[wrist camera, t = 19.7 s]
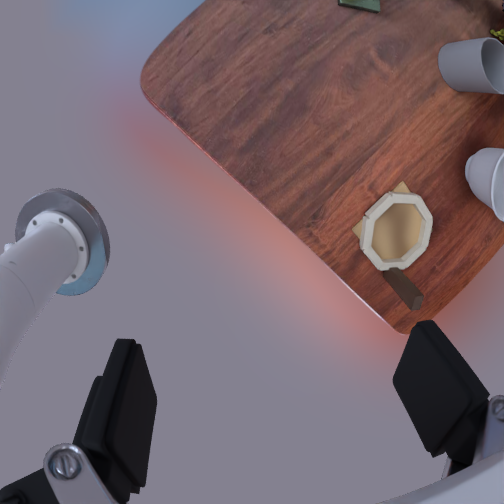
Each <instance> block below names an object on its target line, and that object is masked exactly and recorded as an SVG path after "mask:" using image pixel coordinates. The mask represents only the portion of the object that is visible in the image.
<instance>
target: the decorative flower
mask: <svg viewBox="0 0 504 504" xmlns="http://www.w3.org/2000/svg"><path fill="white" fill-rule="evenodd" d="M503 1H504V0H503ZM502 6H503V8H504V3H503V5H502ZM502 11H503V12H504V9H503V10H502ZM490 33H491V34H492V35H494V36H495V37H498V36H499V35H501V36H499V39H500V40H501V41H503V40H504V37H503V36H504V28H503V29H501V30H500V31H498V32H495V31H494V30H490Z"/></svg>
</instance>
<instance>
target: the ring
mask: <svg viewBox="0 0 504 504" xmlns="http://www.w3.org/2000/svg"><path fill="white" fill-rule="evenodd" d="M393 203H404V204H413V205H414V207H415V209H416V210H417V212H418V213H419V215H420V217H421V218H422V222H421V228H420V233H419V238H418V242H417V243H416V244H415V245H414V246H413V247H412V248H411V249H410V250H409V251H408V252H407V253H406V254H405V255H403V256H402V257H401V258H394V259H381V258H380V257H379V256H378V255H377V253H376V252H375V251H374V250H373V248H372V247H371V243H372V237H373V230H374V223H375V221H376V220H377V219H378V218H379V217H380V216H381V215H382V214H383V213H384V212H385V211H386V210H387V209H388V208H389V207H390V206H391V205H392V204H393ZM365 215H366V216H363V222H362V230H361V237H360V244H359V245H360V249H361V250H362V251H363V252H364V253H365V255H366V256H367V257H368V258H369V259H370V261H371V262H372V263H373V264H374V265H375V267H376V268H377V269H378V270H379V269H380V271H383V270H384V275H383V277H384V278H385V279H386V281H387V282H388V283H389V284H390V285H391V287H392V288H393V289H394V290H395V291H396V293H397V294H398V295H399V296H400V297H401V299H402V300H403V301H404V302H405V304H406V305H407V306H408V307H409V309H410V310H411V311H412V310H419V309H420V307H421V304H422V301H423V297H424V295H423V294H422V293H421V292H420V290H419V289H418V288H417V287H416V286H415V285H414V284H413V283H412V282H411V281H410V280H409V279H408V278H407V277H406V276H405V274H404V273H403V272H402V271H401V270H400V269H405V267H406V268H407V267H409V266H410V265H411V264H412V263H413V262H414V261H415V260H416V259H417V258H418V257H419V256H420V255H421V254H422V253H423V252H424V251H425V250H426V248H425V247H428V243H429V238H430V233H431V229H432V223H433V220H432V218H433V217H432V215H431V213H430V212H429V210H428V208H427V207H426V205H425V203H424V202H423V200H422V198H421V197H420V196H418V195H417V194H415V193H406V192H389V194H388V193H386V194H384V195H383V196H382V197H381V198H380V199H379V200H378V201H377V202H376V203H375V204H374V205H373V206H372V207H371V208H370V209H369V210H368V211H367V212H366V213H365Z"/></svg>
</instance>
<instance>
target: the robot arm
mask: <svg viewBox="0 0 504 504" xmlns="http://www.w3.org/2000/svg"><path fill="white" fill-rule="evenodd" d="M4 251H5V252H4V253H3V254H1V255H0V390H1V388H2V385H3V382H4V379H5V377H6V374H7V371H8V368H9V364H10V362H11V359H12V357H13V355H14V353H15V350H16V349H17V347H18V345H19V343H20V342H21V340H22V338H23V337H24V335H25V334H26V332H27V331H28V329H29V328H30V327H31V325H32V324H33V322H34V321H35V320H36V318H37V317H38V315H39V314H40V313H41V311H42V310H43V309H44V307H45V306H46V305H47V303H48V302H49V301H50V299H51V298H52V297H53V295H54V294H55V293H56V292H57V290H58V289H59V288H60V287H61V285H62V284H69V283H72V282H74V281H76V280H77V279H79V277H80V276H81V275H82V274H83V273H84V271H85V269H86V267H87V265H88V260H89V250H88V244H87V241H86V238H85V236H84V234H83V232H82V230H81V229H80V227H79V226H78V225H77V224H76V223H75V222H74V221H73V220H72V219H71V218H70V217H68V216H67V215H65V214H63V213H61V212H58V211H44V212H42V213H40V214H38V215H37V216H35V217H34V218H33V219H32V220H31V221H30V222H29V224H28V226H27V229H26V233H25V236H24V237H23V238H21V239H20V240H19V241H18V242H16V243H7V244H6V245H5V246H4ZM393 385H394V387H395V389H396V391H397V393H398V395H399V397H400V399H401V401H402V403H403V404H404V406H405V408H406V410H407V412H408V414H409V416H410V418H411V420H412V422H413V424H414V426H415V428H416V430H417V432H418V434H419V437H420V439H421V441H422V442H423V445H424V447H425V449H426V451H428V452H430V453H431V455H432V457H433V458H434V457H436V456H438V455H441V454H443V453H444V452H445V451H446V453H447V455H448V457H447V461H446V464H445V468H444V471H443V475H442V478H441V480H440V481H437V482H435V483H433V484H430V485H428V486H425V487H423V488H420V489H418V490H416V491H413V492H410V493H407V494H405V495H402V496H399V497H396V498H393V499H390V500H387V501H384V502H381V503H378V504H504V396H503V395H497V396H494V397H493V398H491V400H490V401H489V400H488V399H487V398H488V397H489V395H490V394H489V392H488V391H487V390H486V388H485V387H484V386H483V384H482V383H481V381H480V380H479V378H478V377H477V376H476V374H475V373H474V372H473V370H472V369H471V368H470V366H469V365H468V364H467V362H466V361H465V360H464V358H463V357H462V356H461V354H460V353H459V352H458V351H457V349H456V348H455V347H454V346H453V344H452V343H451V342H450V341H449V339H448V338H447V337H446V335H445V334H444V333H443V332H442V331H441V329H440V328H439V327H438V326H437V324H436V323H435V322H434V321H433V320H426V321H420V322H417V323H416V325H415V326H414V327H413V328H412V330H411V333H410V336H409V339H408V341H407V344H406V347H405V349H404V352H403V354H402V357H401V359H400V362H399V364H398V367H397V369H396V371H395V374H394V376H393ZM156 407H157V396H156V393H155V390H154V387H153V384H152V380H151V377H150V374H149V370H148V367H147V364H146V360H145V357H144V354H143V350H142V346H141V344H136V341H135V340H134V339H117V340H116V342H115V344H114V347H113V349H112V352H111V354H110V357H109V360H108V362H107V365H106V368H105V370H104V373H103V376H97V377H96V378H95V380H94V382H93V384H92V387H91V390H90V393H89V395H88V398H87V401H86V404H85V407H84V409H83V413H82V415H81V418H80V421H79V424H78V427H77V430H76V434H75V437H74V440H73V443H72V444H69V443H63V444H58V445H56V446H54V447H52V448H51V449H50V450H49V451H48V452H47V453H46V455H45V458H44V462H43V467H44V468H42V469H40V470H38V471H36V472H34V473H32V474H30V475H28V476H26V477H24V478H22V479H20V480H17V481H15V482H13V483H11V484H9V485H7V486H5V487H3V488H2V489H1V490H0V504H128V503H127V502H128V501H129V498H130V493H136V494H139V491H140V487H145V484H146V477H147V469H148V461H149V453H150V446H151V439H152V432H153V426H154V420H155V414H156Z"/></svg>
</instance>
